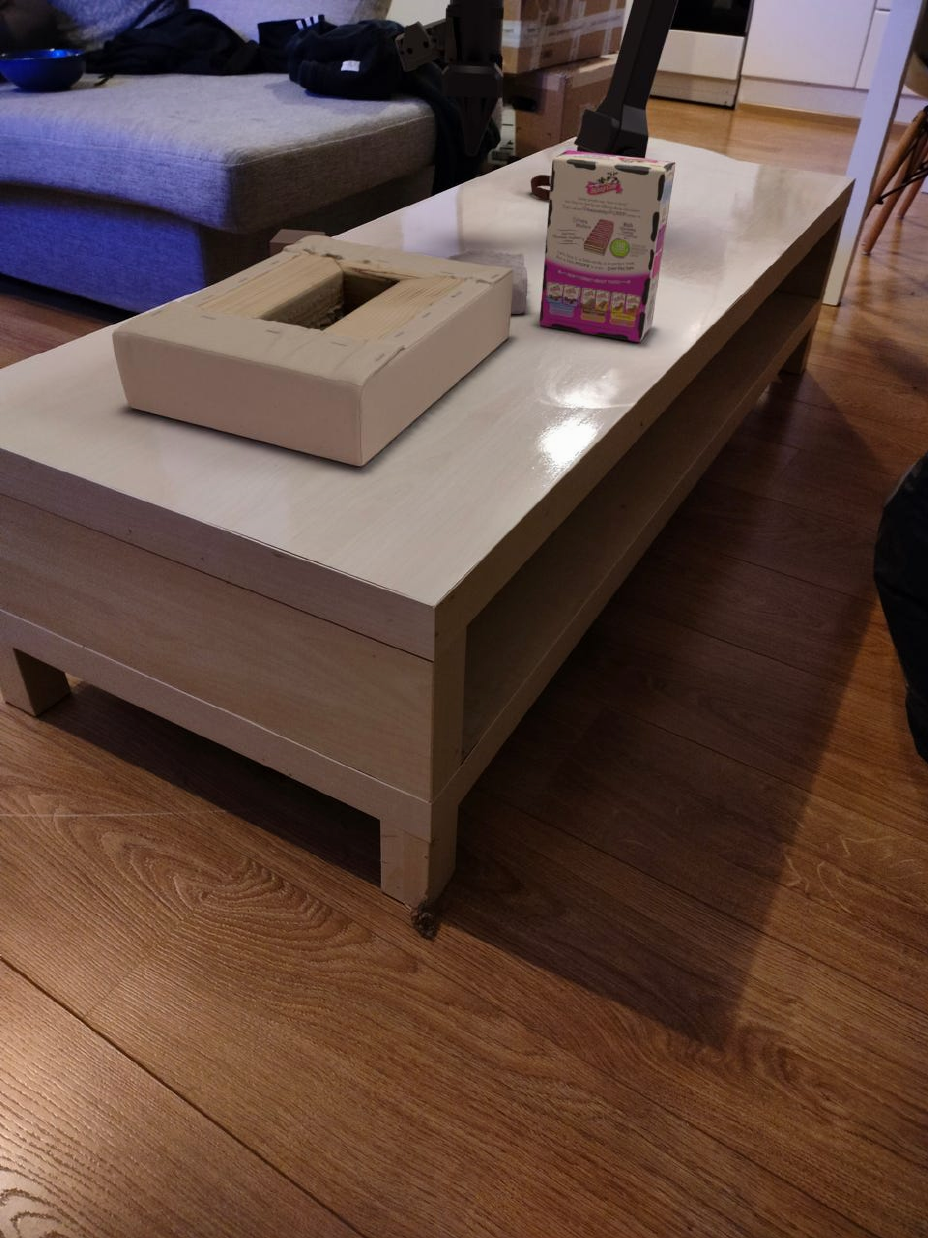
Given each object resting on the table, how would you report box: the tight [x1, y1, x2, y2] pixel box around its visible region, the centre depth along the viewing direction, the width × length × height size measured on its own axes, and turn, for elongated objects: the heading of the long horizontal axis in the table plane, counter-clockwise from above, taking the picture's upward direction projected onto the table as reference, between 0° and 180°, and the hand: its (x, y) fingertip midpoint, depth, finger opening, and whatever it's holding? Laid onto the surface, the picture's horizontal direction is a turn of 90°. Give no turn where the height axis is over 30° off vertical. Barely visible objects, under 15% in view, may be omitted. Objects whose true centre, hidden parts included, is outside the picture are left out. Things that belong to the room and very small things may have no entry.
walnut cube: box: [268, 228, 326, 258], centre depth 108 cm, size 5×5×5 cm
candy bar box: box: [539, 149, 676, 343], centre depth 97 cm, size 11×5×16 cm, turn 68°
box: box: [111, 235, 513, 467], centre depth 88 cm, size 23×8×32 cm
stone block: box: [445, 249, 529, 315], centre depth 107 cm, size 12×5×10 cm
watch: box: [530, 174, 551, 201], centre depth 142 cm, size 8×5×4 cm, turn 48°
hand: (471, 154), depth 110 cm, fingers closed
